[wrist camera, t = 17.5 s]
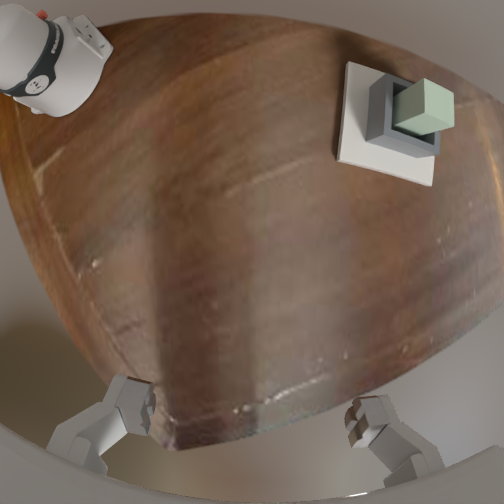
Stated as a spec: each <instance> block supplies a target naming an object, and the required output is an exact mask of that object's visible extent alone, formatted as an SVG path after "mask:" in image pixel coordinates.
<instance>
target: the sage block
mask: <svg viewBox="0 0 504 504" xmlns="http://www.w3.org/2000/svg"><path fill="white" fill-rule="evenodd" d="M451 127H454V97H453V93H452V92H450V91H449V90H447V89H445V88H443V87H441V86H439V85H437V84H435V83H433V82H431V81H429V80H427V79H425V78H424V79H422V80H420V81H419V82H417V83H415V84H414V85H412V86H410V87H409V88H407V89H405V90H404V91H402V92H400V93H399V94H397V95H395V96H394V97H393V103H392V123H391V130H394V131H397V132H400V133H403V134H405V135H408V136H411V137H418V136H421V135H425V134H428V133H432V132H435V131H439V130H443V129H447V128H451Z"/></svg>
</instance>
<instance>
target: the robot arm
mask: <svg viewBox="0 0 504 504" xmlns="http://www.w3.org/2000/svg"><path fill="white" fill-rule="evenodd" d="M46 18H47V14H46V12H44V11H43V10H41V11H40V12H39V13H38V14H37V15H36V16H35V15H34V14H32V13H31V12H29V11H28V10H26V9H25V8H23V7H22V6H20V5H18V4H7V5H4V6H1V7H0V92H2V93H4V94H6V95H8V96H14V97H13V98H14V99H15V100H16V101H18V102H20V103H22V104H24V105H27V106H29V107H31V111H32V112H33V113H35V114H41V113H46V114H48V115H50V116H54V117H60V116H64V115H67V114H69V113H71V112H72V111H74V110H75V109H77V108H78V107H79V106H80V105H81V104H83V103H84V101H85V100H86V99H87V98H88V97H89V96H90V94H91V93H92V92H93V90H94V88H95V87H96V85H97V83H98V81H99V79H100V76H101V73H102V69H103V66H104V64H105V62H106V60H107V59H108V58H109V56H110V54H111V53H112V51H113V46H112V45H111V44H110V42H109V41H108V40H107V39H106V38H105V37H104V36H103V34H102V33H101V32H100V31H99V30H98V29H97V28H96V26H95V25H94V24H93V23H92V22H91V21H90V20H89V19H88V18H87V17H86V16H85V15H80V16H77V17H75V18H73V19H70V18H69V17H67V16H61V17H58V18H56V19H55V20H53V21H47V20H45V19H46ZM103 46H104V47H103ZM102 47H103V48H102ZM153 390H154V384H153V382H149V381H145V380H141V379H137V378H133V377H129V376H126V375H122V374H118V373H117V374H116V375H115V376H114V378H113V380H112V382H111V384H110V386H109V388H108V391H107V393H106V395H105V397H104V399H103V402H102V403H101V402H98V403H96V404H95V405H93V406H91V407H89V408H88V409H86V410H84V411H82V412H81V413H79V414H77V415H76V416H74V417H72V418H70V419H69V420H67V421H65V422H64V423H61V424H60V425H58V426H57V427H56V429H55V431H54V433H53V436H52V437H51V440H50V442H49V444H48V446H47V448H46V450H44V449H43V448H41V447H39V446H37V445H35V444H33V443H31V442H30V441H28V440H26V439H24V438H23V437H21V436H19V435H18V434H16V433H15V432H13V431H11V430H10V429H8V428H7V427H5V426H4V425H2V424H0V504H504V448H502V447H500V446H498V445H494V446H491V447H489V448H487V449H485V450H483V451H481V452H479V453H477V454H475V455H473V456H471V457H469V458H467V459H465V460H463V461H461V462H459V463H456V464H454V465H451V466H449V467H447V468H445V466H444V463H443V461H442V458H441V456H440V454H439V451H438V449H437V447H436V446H435V445H433V444H432V443H430V442H429V441H428V440H426V439H425V438H424V437H422V436H421V435H420V434H418V433H417V432H416V431H414V430H413V429H412V428H410V427H409V426H408V425H406V424H405V423H404V422H400V421H399V418H398V416H397V413H396V411H395V409H394V406H393V404H392V402H391V399H390V397H389V396H388V395H380V396H367V397H357V398H355V399H354V400H353V402H352V404H353V406H352V407H350V408H349V409H348V410H347V412H346V414H345V426H346V429H348V430H349V431H350V433H349V435H348V438H349V442H350V445H351V448H358V447H367V446H369V447H368V448H369V449H370V450H371V451H372V452H373V453H374V454H375V455H376V456H377V457H378V458H379V459H380V460H381V461H382V462H383V463H384V464H385V465H386V467H387V468H388V469H389V470H390V471H391V472H392V473H391V474H390V475H388V476H387V477H386V478H385V479H384V480H383V481H384V485H385V488H383V489H379V490H375V491H370V492H366V493H360V494H355V495H350V496H344V497H337V498H330V499H323V500H313V501H300V502H280V503H249V502H231V501H219V500H209V499H202V498H194V497H188V496H182V495H176V494H171V493H166V492H161V491H157V490H152V489H148V488H144V487H140V486H137V485H133V484H130V483H126V482H123V481H120V480H117V479H113V478H110V477H108V476H105V475H106V472H107V466H106V464H105V463H104V461H103V460H102V459H101V457H100V455H101V454H102V453H104V452H105V451H106V450H107V449H108V448H110V447H111V446H112V445H113V444H114V443H116V442H117V441H118V440H119V439H120V438H122V437H123V436H124V435H125V434H127V432H130V433H135V434H139V435H143V436H147V435H148V432H149V428H150V425H151V422H150V417H151V416H153V415H154V411H155V405H156V396H155V394H154V393H153Z"/></svg>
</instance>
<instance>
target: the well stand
mask: <svg viewBox="0 0 504 504" xmlns="http://www.w3.org/2000/svg"><path fill="white" fill-rule="evenodd" d="M412 85H414V84H413V83H411V82H408V81H406V80H403V79H401V78H398V77H396V76H393V75H391V74H388V73H383V72H381V71H378V70H375V69H372V68H369V67H366V66H363V65H360V64H356V63H353V62H350V61H348V63H347V64H346V69H345V83H344V96H343V107H342V117H341V127H340V136H339V144H338V152H337V160H336V161H338V162H343V163H347V164H351V165H355V166H359V167H363V168H367V169H371V170H375V171H378V172H382V173H386V174H389V175H393V176H396V177H399V178H403V179H406V180H409V181H412V182H416V183H419V184H422V185H425V186H432V179H433V169H434V157H435V156H436V155H439V152H440V130H439V131H435V132H432V133H428V134H425V135H421V136H418V137H411V136H408V135H405V134H403V133H400V132H397V131H394V130H391V123H392V103H393V97H394V96H395V95H397V94H399V93H400V92H402V91H404V90H405V89H407V88H409V87H410V86H412Z"/></svg>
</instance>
